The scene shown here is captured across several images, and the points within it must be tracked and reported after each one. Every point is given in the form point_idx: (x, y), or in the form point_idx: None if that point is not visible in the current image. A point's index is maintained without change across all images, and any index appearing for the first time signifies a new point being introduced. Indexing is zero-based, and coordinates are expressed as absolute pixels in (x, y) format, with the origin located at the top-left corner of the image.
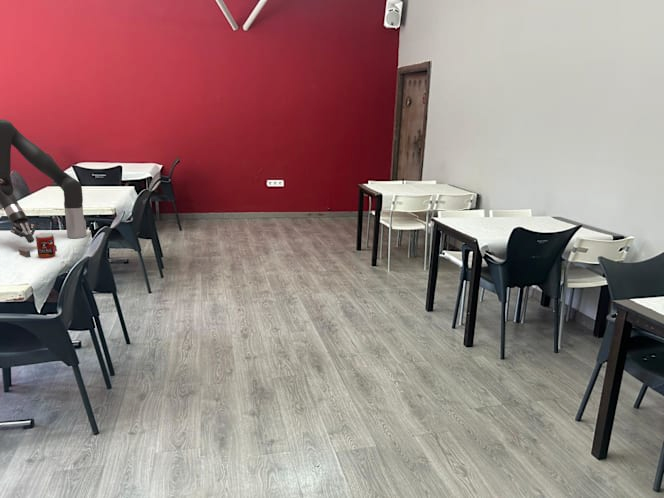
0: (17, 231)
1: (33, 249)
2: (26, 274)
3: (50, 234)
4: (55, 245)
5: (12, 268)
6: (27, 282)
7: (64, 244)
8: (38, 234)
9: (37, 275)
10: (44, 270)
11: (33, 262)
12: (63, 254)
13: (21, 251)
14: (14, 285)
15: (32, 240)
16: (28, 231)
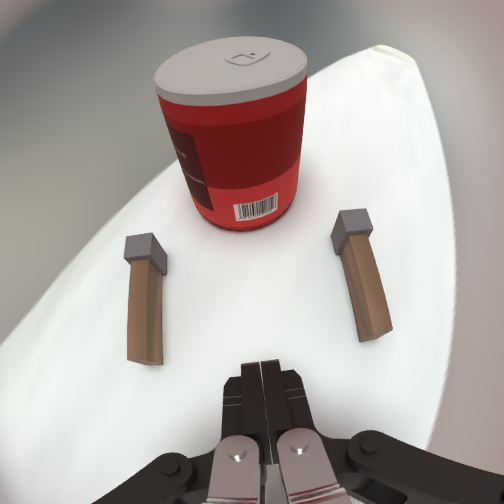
0: (448, 467)
1: None
2: (376, 75)
3: (177, 69)
4: (129, 240)
5: (419, 130)
6: (375, 52)
7: (40, 376)
8: (265, 80)
9: (350, 60)
10: (325, 70)
11: (341, 139)
12: (165, 173)
13: (380, 292)
14: (399, 56)
15: (256, 362)
16: (249, 488)
